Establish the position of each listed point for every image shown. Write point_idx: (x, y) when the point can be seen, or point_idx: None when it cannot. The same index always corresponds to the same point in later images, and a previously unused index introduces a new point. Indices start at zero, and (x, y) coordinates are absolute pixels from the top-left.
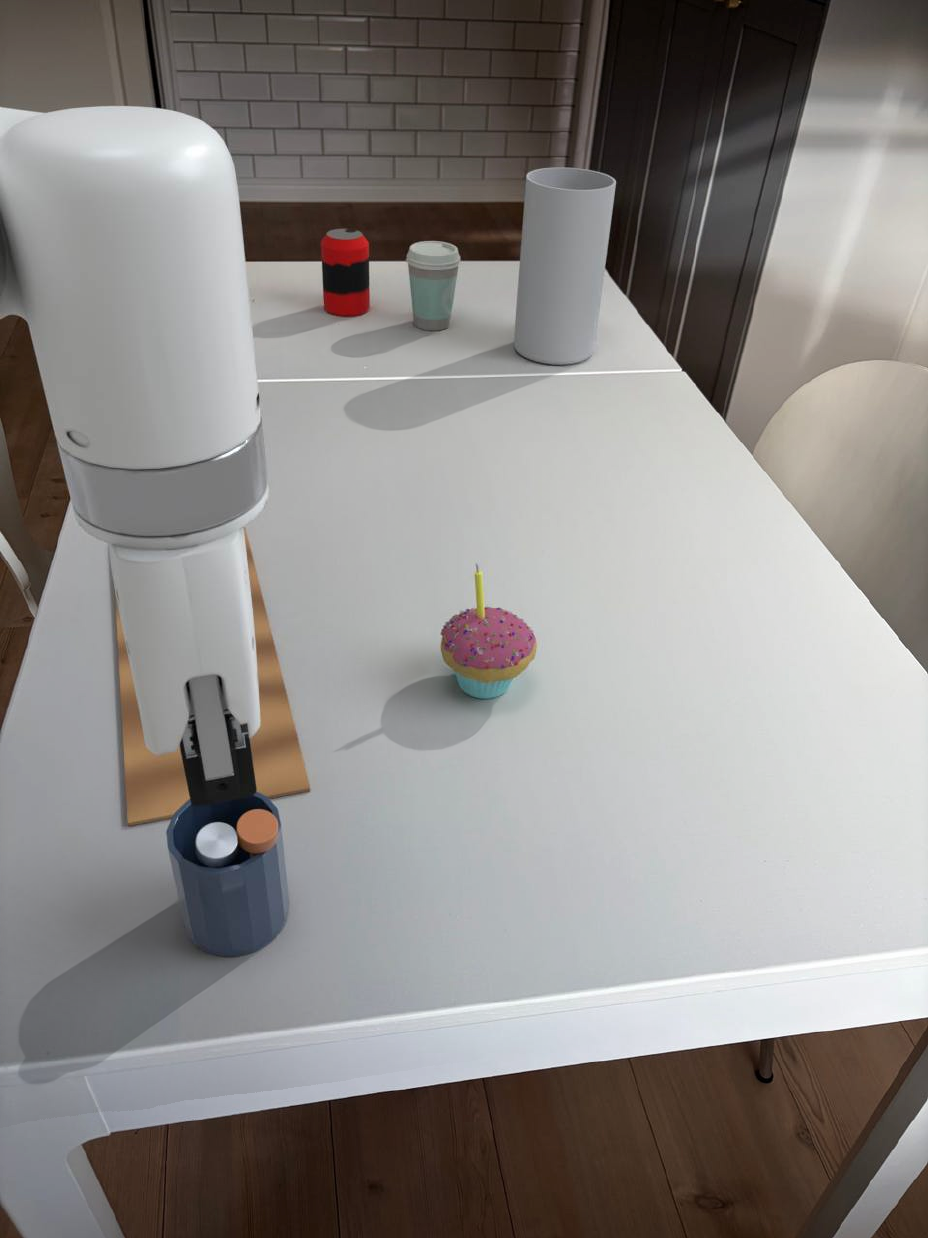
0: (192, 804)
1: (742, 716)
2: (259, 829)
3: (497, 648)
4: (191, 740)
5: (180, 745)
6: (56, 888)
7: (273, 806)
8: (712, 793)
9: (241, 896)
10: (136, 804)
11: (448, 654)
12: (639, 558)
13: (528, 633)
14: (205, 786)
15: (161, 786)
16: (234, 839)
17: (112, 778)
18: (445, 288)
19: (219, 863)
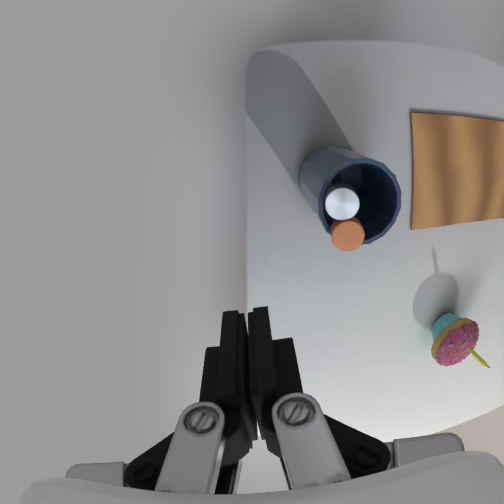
0: (223, 312)
1: (371, 413)
2: (344, 238)
3: (446, 354)
4: (138, 480)
5: (227, 395)
6: (369, 66)
7: (372, 240)
8: (337, 402)
9: (311, 203)
10: (424, 119)
11: (458, 325)
12: (468, 384)
13: (448, 365)
14: (204, 365)
15: (435, 136)
16: (340, 218)
17: (446, 106)
18: None
19: (324, 201)
